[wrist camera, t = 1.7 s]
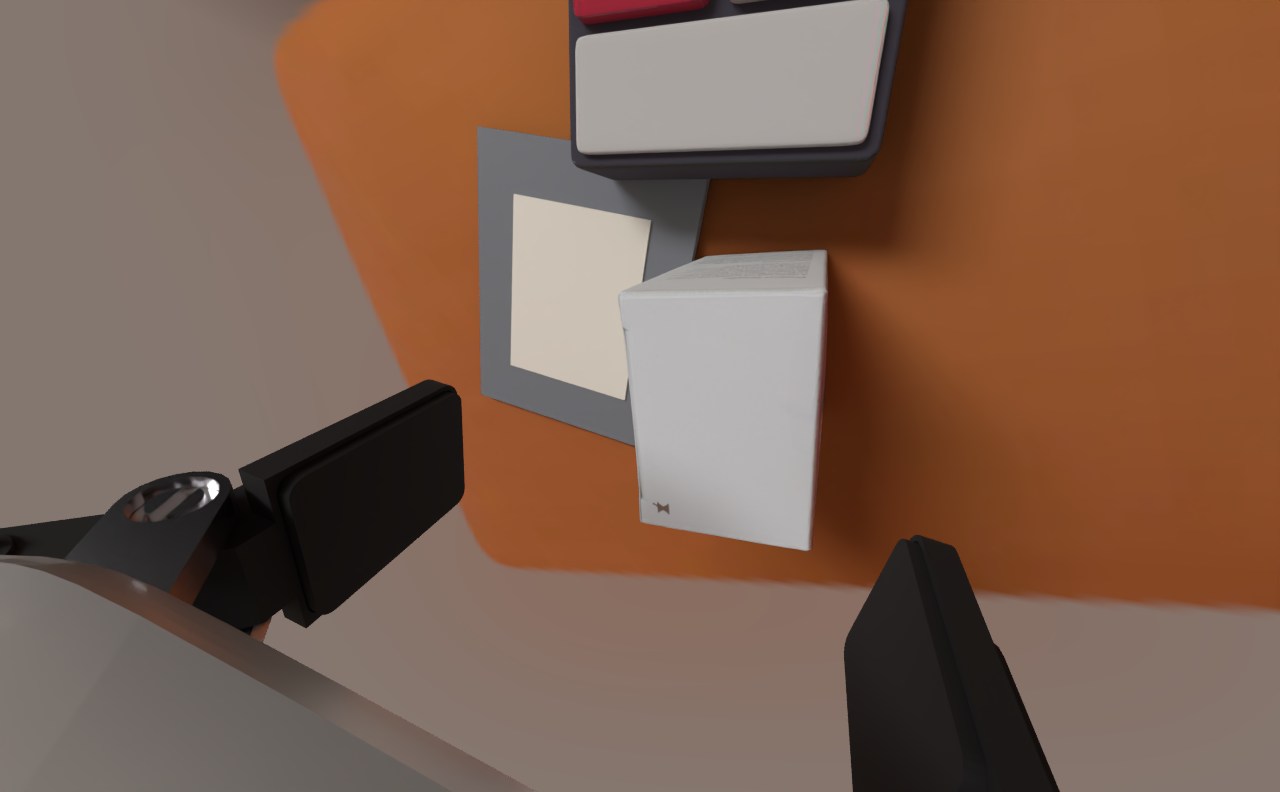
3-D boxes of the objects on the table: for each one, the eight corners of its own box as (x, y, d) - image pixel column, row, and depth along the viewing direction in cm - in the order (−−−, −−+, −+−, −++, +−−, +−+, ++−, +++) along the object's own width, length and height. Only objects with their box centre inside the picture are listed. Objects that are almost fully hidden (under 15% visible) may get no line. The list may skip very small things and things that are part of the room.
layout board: (713, 162, 20) (710, 161, 19) (658, 447, 26) (654, 453, 26) (485, 128, 23) (475, 126, 22) (487, 390, 30) (480, 394, 29)
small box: (819, 415, 22) (813, 561, 13) (707, 407, 24) (637, 529, 15) (831, 245, 19) (834, 285, 10) (703, 252, 21) (613, 291, 12)
